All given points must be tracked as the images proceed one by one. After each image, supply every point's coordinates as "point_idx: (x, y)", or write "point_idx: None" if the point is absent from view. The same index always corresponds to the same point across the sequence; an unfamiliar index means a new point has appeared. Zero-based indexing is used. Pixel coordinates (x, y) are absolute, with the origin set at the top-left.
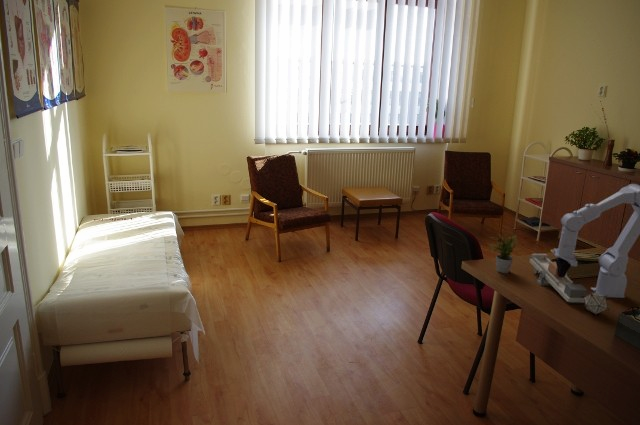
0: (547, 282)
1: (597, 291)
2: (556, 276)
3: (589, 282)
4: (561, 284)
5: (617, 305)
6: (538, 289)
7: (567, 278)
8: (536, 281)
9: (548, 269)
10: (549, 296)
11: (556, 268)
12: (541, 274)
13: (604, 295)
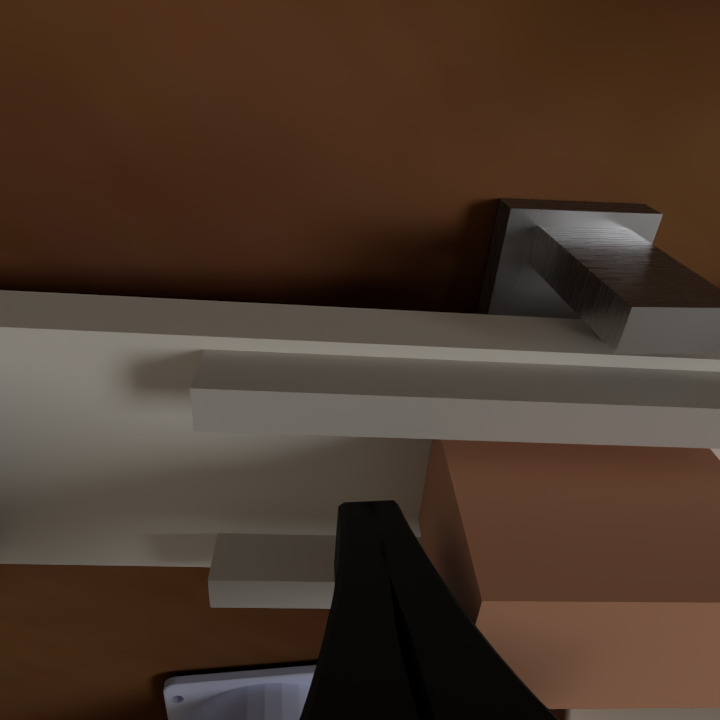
0: None
1: (260, 689)
2: (438, 476)
3: None
4: (232, 437)
5: (3, 715)
6: (356, 66)
7: None
8: (638, 205)
9: (699, 466)
10: (62, 116)
11: (491, 597)
12: (643, 284)
13: (182, 704)
